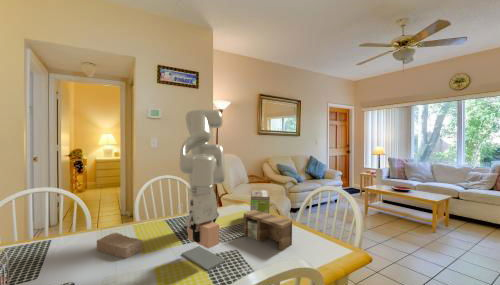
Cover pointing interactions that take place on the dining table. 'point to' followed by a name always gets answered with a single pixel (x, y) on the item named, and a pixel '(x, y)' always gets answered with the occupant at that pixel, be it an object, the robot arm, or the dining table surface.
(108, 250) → the brick
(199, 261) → the mat
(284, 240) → the cubby
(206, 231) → the block
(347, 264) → the dining table surface
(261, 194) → the tea box
